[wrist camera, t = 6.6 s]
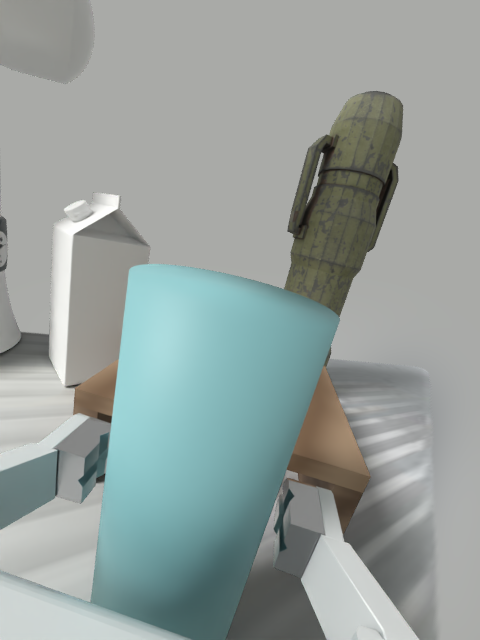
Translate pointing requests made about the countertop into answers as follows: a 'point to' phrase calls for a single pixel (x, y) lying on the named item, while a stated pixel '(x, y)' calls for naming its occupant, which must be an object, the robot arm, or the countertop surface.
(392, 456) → the countertop surface
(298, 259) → the thermos
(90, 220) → the milk carton
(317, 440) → the keyhole bridge
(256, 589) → the countertop surface
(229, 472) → the teal necked cylinder
